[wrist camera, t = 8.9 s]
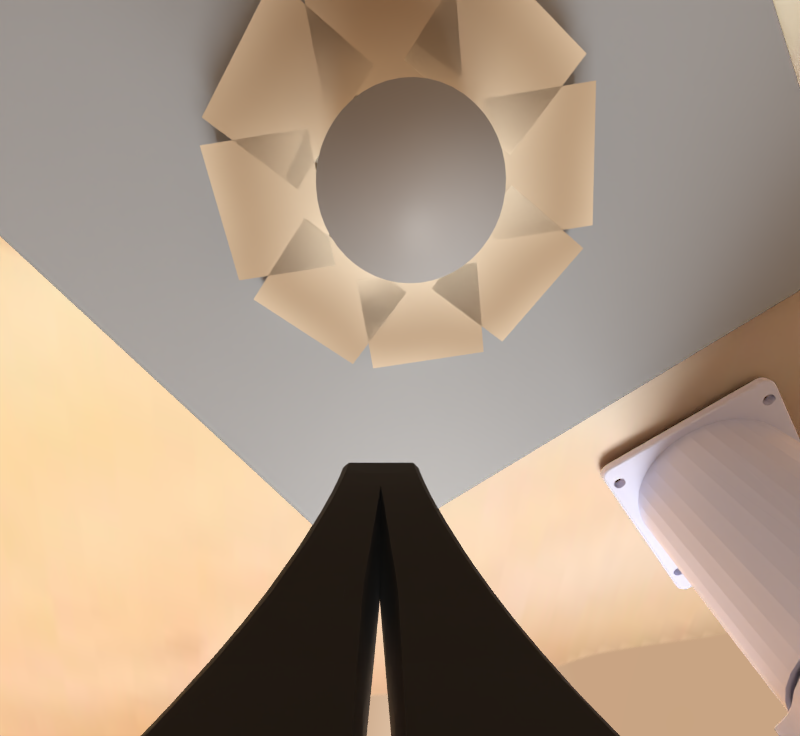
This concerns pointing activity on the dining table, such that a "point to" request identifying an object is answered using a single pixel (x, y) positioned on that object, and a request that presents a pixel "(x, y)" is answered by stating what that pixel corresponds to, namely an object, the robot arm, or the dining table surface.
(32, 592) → the dining table surface
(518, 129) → the beige angular piece
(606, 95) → the post board
